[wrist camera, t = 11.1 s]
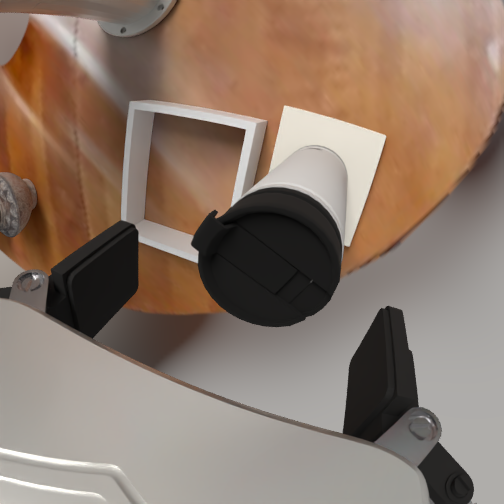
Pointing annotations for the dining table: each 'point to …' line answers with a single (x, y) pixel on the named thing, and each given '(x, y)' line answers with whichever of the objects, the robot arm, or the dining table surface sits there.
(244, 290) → the travel mug
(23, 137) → the dining table surface
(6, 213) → the pottery
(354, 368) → the robot arm
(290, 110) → the pad
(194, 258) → the bin
